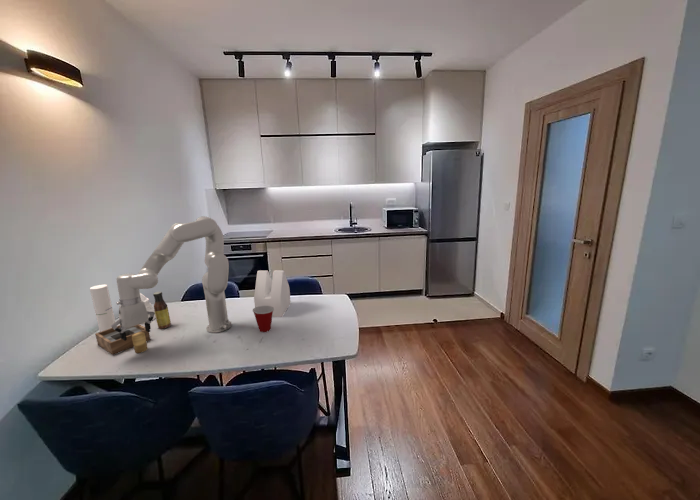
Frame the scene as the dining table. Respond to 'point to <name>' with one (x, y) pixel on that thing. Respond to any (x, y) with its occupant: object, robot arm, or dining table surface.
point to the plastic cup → (263, 317)
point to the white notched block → (272, 291)
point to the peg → (139, 342)
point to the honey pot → (147, 305)
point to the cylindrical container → (102, 306)
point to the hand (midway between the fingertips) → (136, 335)
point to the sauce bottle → (161, 311)
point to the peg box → (119, 338)
